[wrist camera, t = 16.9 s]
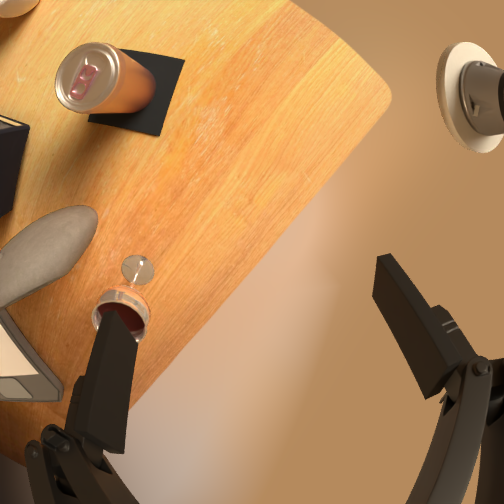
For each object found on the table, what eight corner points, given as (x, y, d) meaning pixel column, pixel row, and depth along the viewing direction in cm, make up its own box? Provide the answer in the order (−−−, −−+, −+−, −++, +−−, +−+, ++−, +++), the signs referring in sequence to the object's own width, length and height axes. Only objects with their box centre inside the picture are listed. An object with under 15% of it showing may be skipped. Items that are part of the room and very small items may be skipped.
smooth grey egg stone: (40, 269, 37) (-18, 348, 20) (17, 232, 34) (-53, 299, 17) (127, 220, 36) (75, 304, 20) (103, 174, 33) (26, 229, 16)
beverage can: (102, 102, 29) (41, 100, 15) (126, 60, 27) (76, 31, 13) (141, 120, 31) (97, 125, 17) (166, 78, 29) (137, 53, 15)
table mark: (185, 60, 28) (184, 60, 28) (159, 136, 32) (159, 136, 32) (111, 47, 26) (110, 47, 25) (88, 121, 29) (87, 121, 29)
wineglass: (157, 248, 39) (142, 299, 28) (162, 289, 42) (152, 346, 31) (112, 249, 38) (84, 299, 27) (120, 290, 41) (99, 345, 30)
